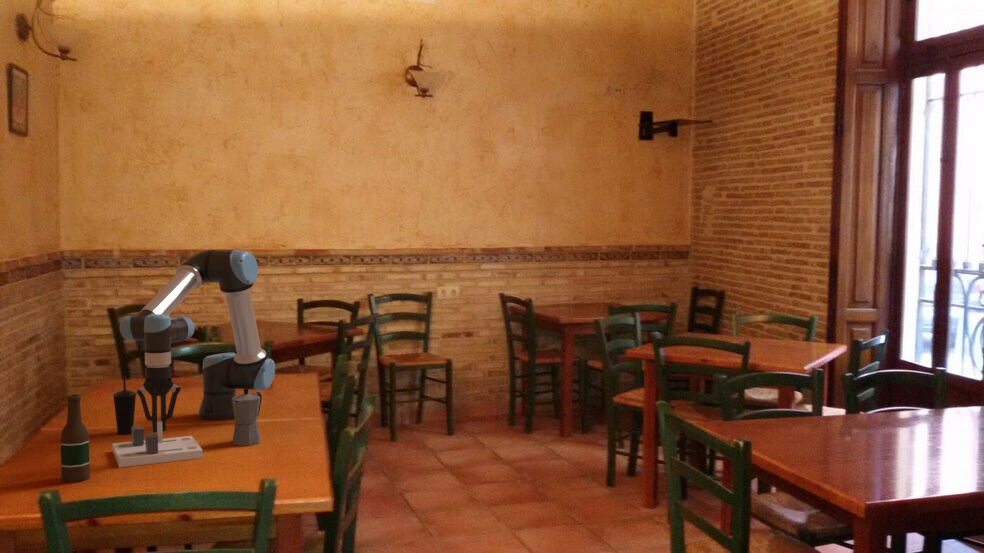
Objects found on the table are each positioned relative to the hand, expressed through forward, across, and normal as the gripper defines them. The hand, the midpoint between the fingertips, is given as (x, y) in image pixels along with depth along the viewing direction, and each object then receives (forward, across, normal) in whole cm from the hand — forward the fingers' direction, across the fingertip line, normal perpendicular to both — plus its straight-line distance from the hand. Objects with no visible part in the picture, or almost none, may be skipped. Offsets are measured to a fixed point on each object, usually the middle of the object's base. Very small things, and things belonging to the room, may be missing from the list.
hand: (159, 441), depth 275 cm
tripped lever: (+3, +2, 0) cm, 3 cm away
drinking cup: (+6, +6, -40) cm, 41 cm away
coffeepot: (+6, -29, -10) cm, 31 cm away
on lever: (+3, +5, -12) cm, 13 cm away
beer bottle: (+6, +24, +11) cm, 27 cm away
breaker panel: (+6, 0, -6) cm, 8 cm away
